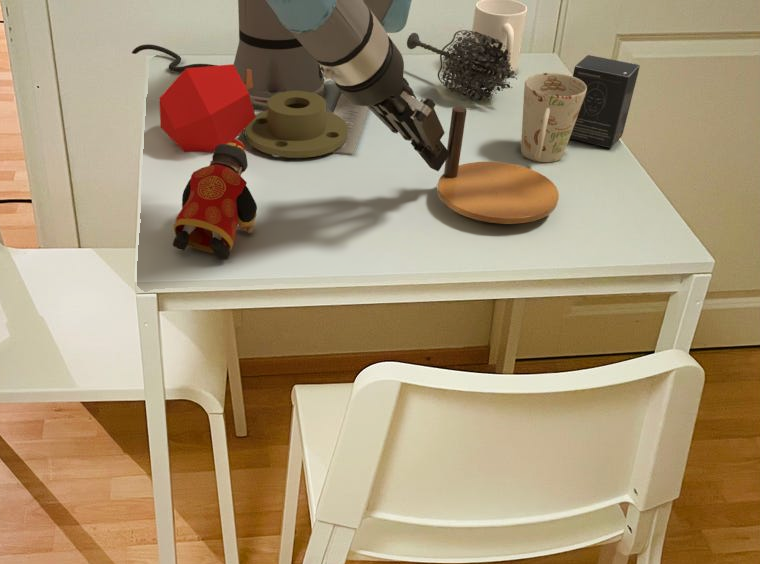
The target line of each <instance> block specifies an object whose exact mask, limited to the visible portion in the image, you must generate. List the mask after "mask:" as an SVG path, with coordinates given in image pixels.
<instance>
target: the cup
mask: <svg viewBox="0 0 760 564" xmlns="http://www.w3.org/2000/svg"><path fill="white" fill-rule="evenodd" d="M474 7H475V8H474V13H473V21H472V28H471V31H473V32H475V31H476V32H478V33H480V34H483V35H486V36H487V37H488V36H490V37H491V38H493V39H498V40H499V41H500V42H502V43H503V45H502V48H501V49H500V50H502V51H505V49H506V50H507V49H508V54H507V55H506V56H509V57H510V58H509V57H507V60H508V62H509V63H510V65H511V66H510V67H512V69H511V68H510V69H511V71H514V73H513V75H515V74H516V72H517V68H518V64H519V59H520V55H521V54H520V53H521V48H522V41H523V38H524V37H523V36H524V31H525V26H526V25H525V24H526V20H527V13H528V7H527V5H526V4H524V3H523V2H520V1H518V0H478V1H477V2H476V3H475V6H474ZM472 35H473V34H471V36H472ZM471 36H470V37H471ZM474 37H475V35H473V36H472V39H473V38H474ZM478 38H479V37H478ZM478 38H477V39H476V37H475V39H476V41H477V43H479V42H478ZM485 39H486V38H485ZM476 41H475V42H476ZM485 43H486V42H485ZM490 43H491V42H490ZM486 44H487V43H486ZM469 45H471V44H469ZM489 45H491V46H492V47H493V45H492V44H489ZM494 45H495V46H496V47H498V45H499V43H498V44H496V43H494ZM473 46H474V45H473ZM504 46H505V47H504ZM488 47H489V46H488ZM503 48H504V49H503ZM482 49H483V48H482ZM491 53H492V52H491ZM509 53H510V54H509ZM474 56H475V55H474ZM501 59H502V58H501ZM501 59H499V60H501ZM509 59H510V60H509ZM471 62H472V61H471ZM473 66H474V65H473ZM472 68H473V67H472ZM485 70H486V69H485ZM480 71H481V70H480ZM503 71H504V70H503ZM511 71H510V72H511ZM489 72H490V71H489ZM489 72H488V73H489ZM493 74H494V71H493ZM493 74H492V75H493ZM504 74H505V73H504ZM497 75H498V74H497ZM497 75H496V76H497ZM499 76H500V78H501V74H500V75H499ZM495 78H496V77H495ZM505 78H507V76H506V77H505Z"/></svg>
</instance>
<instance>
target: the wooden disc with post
mask: <svg viewBox="0 0 760 564" xmlns="http://www.w3.org/2000/svg"><path fill="white" fill-rule="evenodd" d="M467 111H468V110H467V108H466V107H464V106H461V105H456V106H453V107H452V109H451V115H450V116H451V117H450V124H449V130H448V139H447V146H446V149H447V150H448V151H449V153H450V155H449V156H448V158H447V159H446V161H445V162H444V168H443V174H442V175H441V176H440V177H439V179H438V182H437V188H436V189H437V196H438V198H439V199H440V201H441V202H442V203H443V204H444V205H445V206H447V208H448V209H450V210H451V211H453V212H455V213H457V214H459V215H461V216H464V217H466V218H470V219H473V220H475V221H479V220H480V221H479V222H483V221H485V222H484V223H487V222H491V223H490V224H494V223H500V224H499V225H514V224H515V225H516V224H524V223H531V222H535V221H537V220H540V219H543V218H545V217H547V216H548V215H550V214H551V213H553V212H554V211H555V209H556V208H557V205H558V202H559V198H560V197H559V196H560V193H559V190H558V188H557V186H556V185H555V183H554V182H553V181H552V180H551V179H550V178H549V177H548V176H546V175H544V174H542V173H540V172H538V171H536V170H534V169H531V168H529V167H525V166H522V165H518V164H514V163H510V162H509V163H508V162H500V161H475V162H467V163H463V164H460V160H461V152H462V146H463V137H464V131H465V125H466V118H467Z"/></svg>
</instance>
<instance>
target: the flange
mask: <svg viewBox="0 0 760 564" xmlns="http://www.w3.org/2000/svg"><path fill="white" fill-rule="evenodd" d="M255 116H256V117H255V119H254V120H253V121H252V122H251V123H250V124H249V125H248V126H247V127H246V128H245V129H244V134H245V135H244V136H245V140H246V141H247V142H248V144H249V145H250V146H251V147H253V148H254V149H256V150H258V151H259V152H262V153H264V154H268V155H272V156H275V157H280V158H281V157H282V158H291V159H292V158H294V159H295V158H296V159H300V158H303V159H305V158H312V157H319V156H324V155H327V154H331V153H330V152H332V151H334V150H336V149H338V148H340V147H341V146H342V145H343V144H344V143H345V142H346V140H347V135H348V127H347V124H346V123H345V121H344V120H343V119H342V118H340V117H339V116H337V115H335V114H333V112H332V111H331V112H330V111H328V110H327V101H326V99H325V97H323V96H322V97H321V96H320V95H317V94H315V93H311V92H306V91H286V92H281V93H278V94H275V95H273V96H272V97H270V98H269V100H268V102H267V109H265V110H264V111H261V112H259V113H255Z"/></svg>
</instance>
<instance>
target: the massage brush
mask: <svg viewBox="0 0 760 564" xmlns="http://www.w3.org/2000/svg"><path fill="white" fill-rule="evenodd" d="M459 33H461V34H459ZM472 34H473V35H475V37H476V39H477V38H478V37H479V38H478V42H479V43H477V41H476V39H475V37H474V38H473V39H472V36H473V35H472ZM471 35H472V36H471ZM485 38H486V39H485ZM455 39H456V40H455ZM406 40H407V41H406V47H407V48H408V49H409V50H414V49H416V48H417V47H420V48H422V49H424V50H428V51H430V52H432V53H436V54H437V55H439V60H440V67H439V70H438V72H437V79H438V80H439V82H440V83H441V84H443V86H444V87H445V88H446V89H449V90H450V91H451V92H453V93H456V94H459V95H460V96H462V97H464V98H466V99H470V100H471V101H472V102H473V101H476V102H477V101H479V102H481V101H483V102H484V101H485V99H487V100H488V101H490V99H493V97H494V94H495V95H497V92H496V91H498V92H500V91H501V92H503V91H504V89H514V88H513V86H511V85H510V84H511V82H510V81H507V79H515V80H518V77H516V76H517V73H514V71H511V69H512V67H510V66H511V65H510V63H509V62H508V60H507V57H509V56H506V55H507V54H508V49H507V50H506V49H505V51H502V50H500V49H501V48H502V45H503V43H502V42H500V41H499V40H498V39H493V38H491V37H490V36H488V37H487V36H486V35H483V34H480V33H478V32H476V31H475V32H473V31H472V30H469V31H468V29H467V30H466V29H464V30H463V29H462V30H457V31H456V32H455V33H454V34H453V36H452V39H451V41H450V42H449V43H447V44H446V45H444V46H443V47H442V49H438V48H437V47H434V46H432V45H431V44H427V43H425V42H422V41H421V40H420V36H419V34H418V33H417V32H412V33H410V35H408V37H407V39H406ZM475 41H476V42H475ZM485 42H486V43H487V44H486V43H485ZM490 42H491V43H490ZM494 43H496V44H498V43H499V45H498V47H496V46H495V45H494ZM470 44H471V45H470ZM489 44H492V45H493V47H492V46H491V45H489ZM473 45H474V46H473ZM448 46H449V47H448ZM488 46H489V47H488ZM451 47H452V48H451ZM504 47H505V46H504ZM482 48H483V49H482ZM445 49H447V51H446V50H445ZM503 49H504V48H503ZM491 52H492V53H491ZM509 54H510V53H509ZM474 55H475V56H474ZM501 58H502V59H501ZM509 58H510V57H509ZM499 59H501V60H499ZM509 60H510V59H509ZM471 61H472V62H471ZM473 65H474V66H473ZM472 67H473V68H472ZM510 68H511V69H510ZM485 69H486V70H485ZM480 70H481V71H480ZM503 70H504V71H503ZM489 71H490V72H489ZM493 71H494V74H493ZM510 71H511V72H510ZM488 72H489V73H488ZM504 73H505V74H504ZM513 73H514V74H513ZM492 74H493V75H492ZM497 74H498V75H497ZM500 74H501V78H500V76H499V75H500ZM496 75H497V76H496ZM514 75H515V76H514ZM506 76H507V77H506ZM495 77H496V78H495ZM505 78H506V79H505ZM476 95H477V96H476ZM492 96H493V97H492ZM484 98H485V99H484Z"/></svg>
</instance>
